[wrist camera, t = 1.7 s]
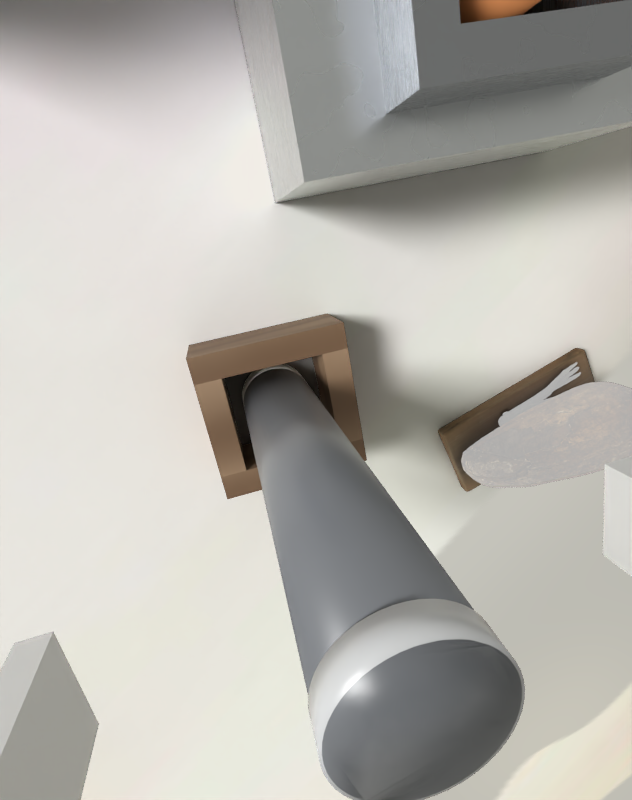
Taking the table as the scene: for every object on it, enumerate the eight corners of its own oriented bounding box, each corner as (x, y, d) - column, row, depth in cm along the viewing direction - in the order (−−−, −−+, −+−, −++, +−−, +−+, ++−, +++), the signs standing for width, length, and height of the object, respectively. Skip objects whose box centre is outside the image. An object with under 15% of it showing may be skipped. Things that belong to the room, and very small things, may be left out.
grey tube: (233, 370, 23) (297, 684, 6) (300, 354, 24) (521, 606, 7) (249, 433, 24) (339, 833, 8) (313, 416, 25) (528, 759, 8)
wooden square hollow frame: (188, 345, 22) (186, 358, 20) (327, 313, 23) (343, 322, 21) (225, 471, 25) (227, 499, 22) (349, 437, 26) (366, 460, 23)
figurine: (634, 310, 28) (810, 335, 19) (648, 373, 29) (817, 420, 21) (434, 430, 27) (530, 507, 19) (460, 487, 29) (559, 580, 21)
